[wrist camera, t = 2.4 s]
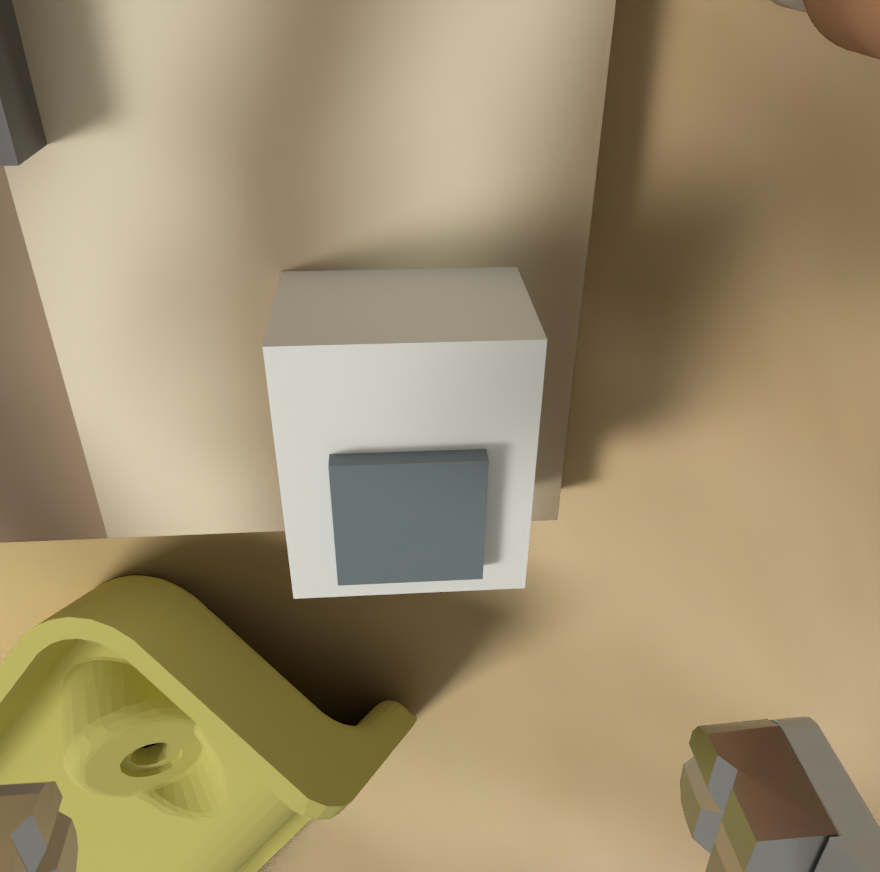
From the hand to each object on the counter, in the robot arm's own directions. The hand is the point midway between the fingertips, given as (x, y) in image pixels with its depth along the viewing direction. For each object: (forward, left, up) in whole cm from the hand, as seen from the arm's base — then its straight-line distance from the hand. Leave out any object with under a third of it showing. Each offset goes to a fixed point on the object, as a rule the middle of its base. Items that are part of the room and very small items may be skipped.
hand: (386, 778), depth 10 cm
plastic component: (+9, +15, -12) cm, 21 cm away
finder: (-1, 0, -10) cm, 10 cm away
